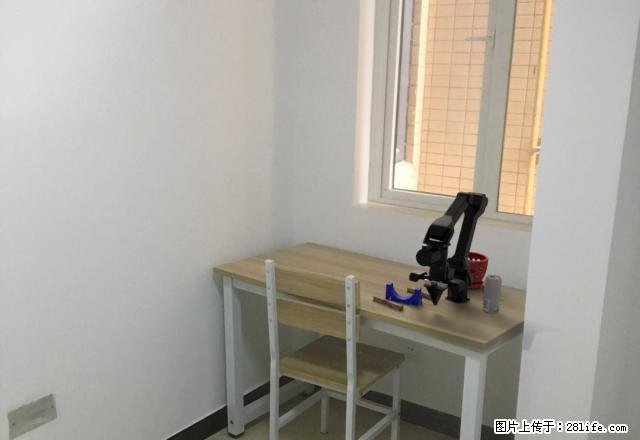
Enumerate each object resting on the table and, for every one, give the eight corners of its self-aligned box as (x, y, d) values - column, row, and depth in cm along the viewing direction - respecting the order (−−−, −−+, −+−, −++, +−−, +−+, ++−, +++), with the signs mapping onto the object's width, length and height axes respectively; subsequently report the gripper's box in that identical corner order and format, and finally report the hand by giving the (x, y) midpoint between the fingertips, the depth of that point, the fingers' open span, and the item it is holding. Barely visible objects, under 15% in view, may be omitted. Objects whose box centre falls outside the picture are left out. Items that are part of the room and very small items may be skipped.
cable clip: (421, 302, 210) (422, 286, 208) (418, 306, 206) (419, 289, 204) (389, 296, 215) (390, 280, 213) (385, 300, 211) (386, 284, 209)
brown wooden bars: (436, 299, 212) (437, 295, 212) (400, 310, 200) (400, 306, 200) (409, 290, 222) (410, 286, 222) (373, 300, 210) (373, 296, 210)
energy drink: (495, 308, 205) (499, 274, 203) (501, 313, 200) (504, 279, 198) (480, 308, 205) (483, 274, 203) (485, 313, 200) (488, 279, 197)
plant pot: (447, 287, 227) (449, 256, 224) (455, 278, 238) (457, 249, 236) (482, 292, 221) (484, 261, 219) (488, 283, 233) (491, 253, 230)
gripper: (475, 261, 197) (471, 305, 201) (426, 250, 209) (423, 293, 212) (459, 268, 189) (456, 314, 192) (409, 256, 201) (406, 300, 204)
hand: (435, 305), depth 200 cm, fingers closed
